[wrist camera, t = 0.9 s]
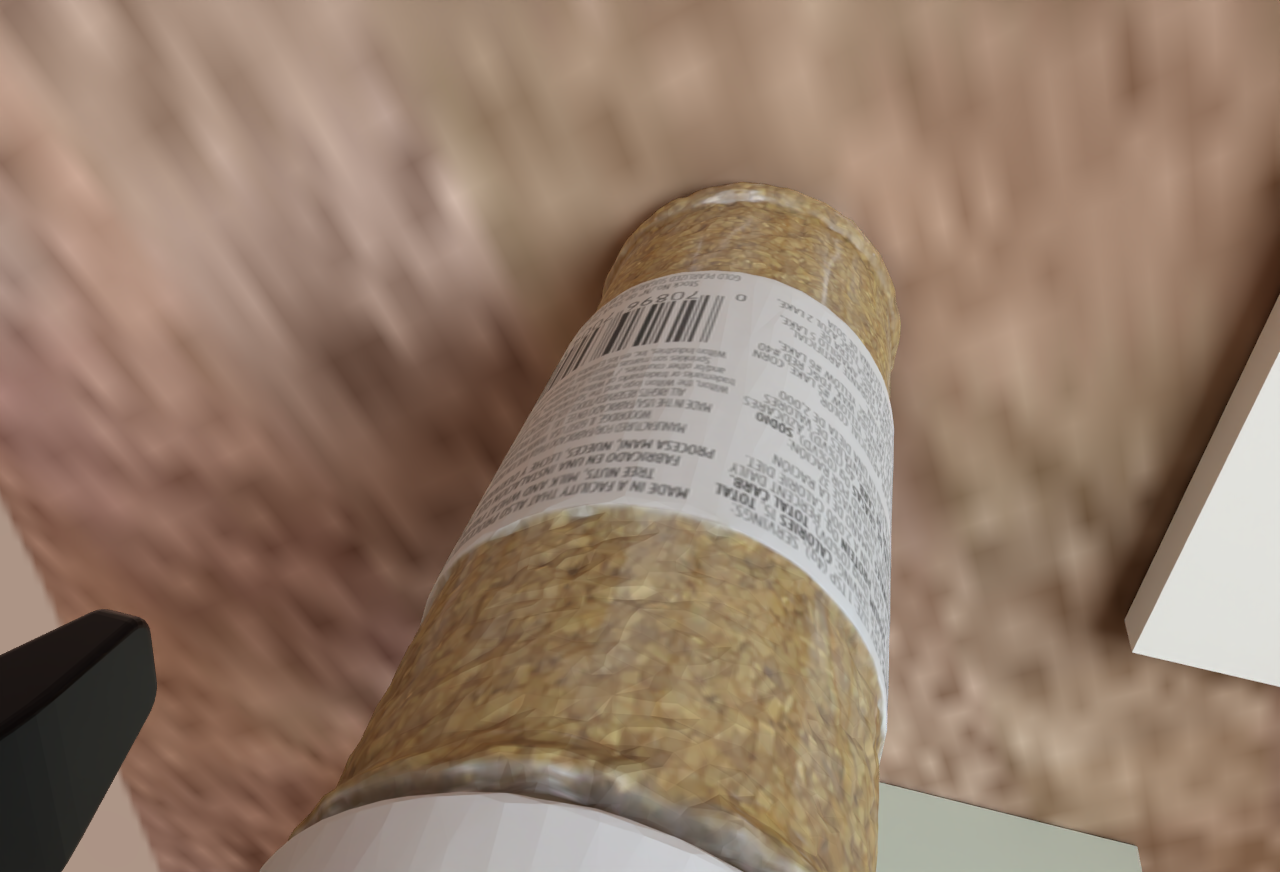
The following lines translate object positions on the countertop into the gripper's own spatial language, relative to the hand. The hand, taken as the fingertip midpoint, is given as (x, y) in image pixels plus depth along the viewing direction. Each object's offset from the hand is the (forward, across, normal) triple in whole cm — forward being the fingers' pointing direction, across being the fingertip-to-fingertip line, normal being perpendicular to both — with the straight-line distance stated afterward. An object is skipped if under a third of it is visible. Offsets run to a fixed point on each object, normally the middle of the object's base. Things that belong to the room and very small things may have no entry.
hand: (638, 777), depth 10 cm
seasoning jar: (+10, 0, 0) cm, 10 cm away
